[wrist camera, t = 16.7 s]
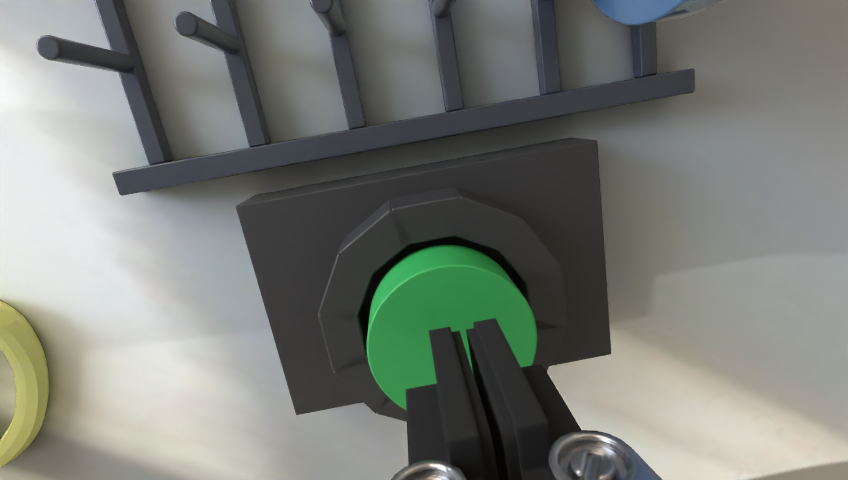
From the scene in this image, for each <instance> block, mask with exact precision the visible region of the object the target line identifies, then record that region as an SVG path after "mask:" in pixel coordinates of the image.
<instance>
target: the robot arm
mask: <svg viewBox="0 0 848 480" xmlns="http://www.w3.org/2000/svg"><path fill="white" fill-rule="evenodd" d="M473 325H474V328H471V329H466V333H467V339H468V345H469V352H470V358H471V364H472V369H471V366H470V363H469V359H468V356H467V353H466V350H465V346H464V343H463V340H462V337H461V333H460V331H455V332H451V328H450V327H444V328H439V329H434V330H429V337H430V343H431V349H432V355H433V362H434V368H435V374H436V380H437V383H436V384H431V385H425V386H420V387H415V388H409V389H406V411H407V435H408V460H409V466H407V467H405V468H403V469H402V470H401V471H399V472H398V473H397V474H395V476H394V477H393V478H392V479H391V480H662V479H661V478H660V477H659V476H658V475H657V474H656V473H655V472H654V471H653V470H652V469H651V468H650V467H649V466H648V464H647V463H646V462H645V461H644V460H643V459H642V458H641V457H640V456H639V455H638V454H637V453H636V452H635V451H634V450H633V449H632V448H631V447H630V446H629V445H627V444H626V443H625V442H623V441H622V440H621V439H619V438H617V437H615V436H612V435H610V434H607V433H603V432H599V431H588V430H581V429H580V427H579V425H578V424H577V422H576V420H575V419H574V417H573V415H572V414H571V412H570V410H569V409H568V407H567V405H566V404H565V402H564V400H563V399H562V397H561V395H560V394H559V392H558V390H557V389H556V387H555V385H554V384H553V382H552V380H551V379H550V377H549V375H548V374H547V372H546V370H545V369H544V367H543V366H542V365H541V364H536V365H531V366H526V367H520V365H519V363H518V361H517V359H516V357H515V355H514V353H513V351H512V349H511V347H510V345H509V343H508V341H507V339H506V337H505V335H504V333H503V332H502V330H501V328H500V326H499V324H498V322H497V320H496V318H492V319H487V320H482V321H476V322H474V323H473ZM472 370H473V372H472Z"/></svg>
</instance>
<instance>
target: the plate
mask: <svg viewBox="0 0 848 480" xmlns="http://www.w3.org/2000/svg"><path fill="white" fill-rule="evenodd" d="M592 1H593V3H594V4H595V6H596V7H597V8H598V9H599V10H600V11H601V12H602V13H603V14H604V15H606V16H607V17H609V18H610V19H612V20H613V21H616V22H619V23H622V24H625V25H645V24H651V23H656V22H662V21H668V20H673V19H679V18H683V17H687V16H691V15H695V14H697V13H699V12H702V11H704V10H706V9H708V8H710V7H712V6H714V5H715V4H717V3H718V2H720V1H721V0H592Z"/></svg>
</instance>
